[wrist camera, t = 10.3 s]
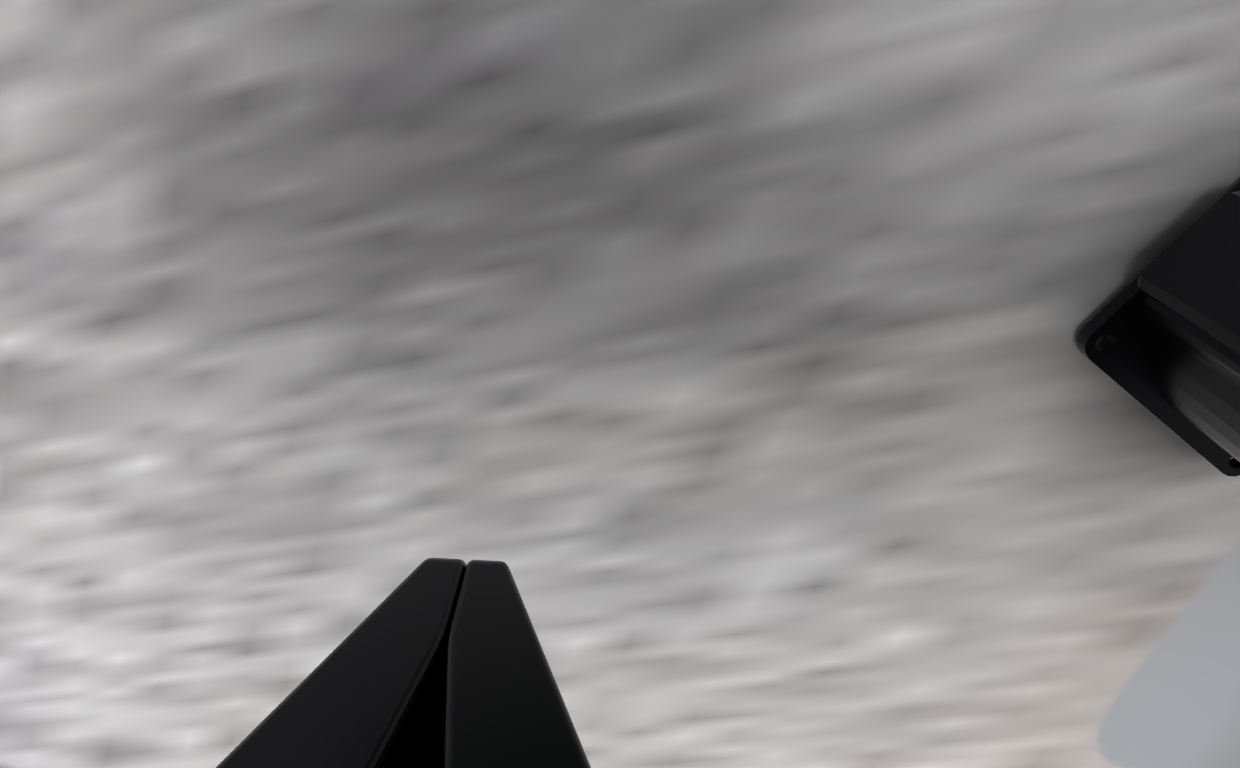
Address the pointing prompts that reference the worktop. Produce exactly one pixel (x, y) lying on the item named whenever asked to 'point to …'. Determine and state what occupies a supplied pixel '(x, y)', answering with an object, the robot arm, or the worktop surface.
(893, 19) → the worktop surface
